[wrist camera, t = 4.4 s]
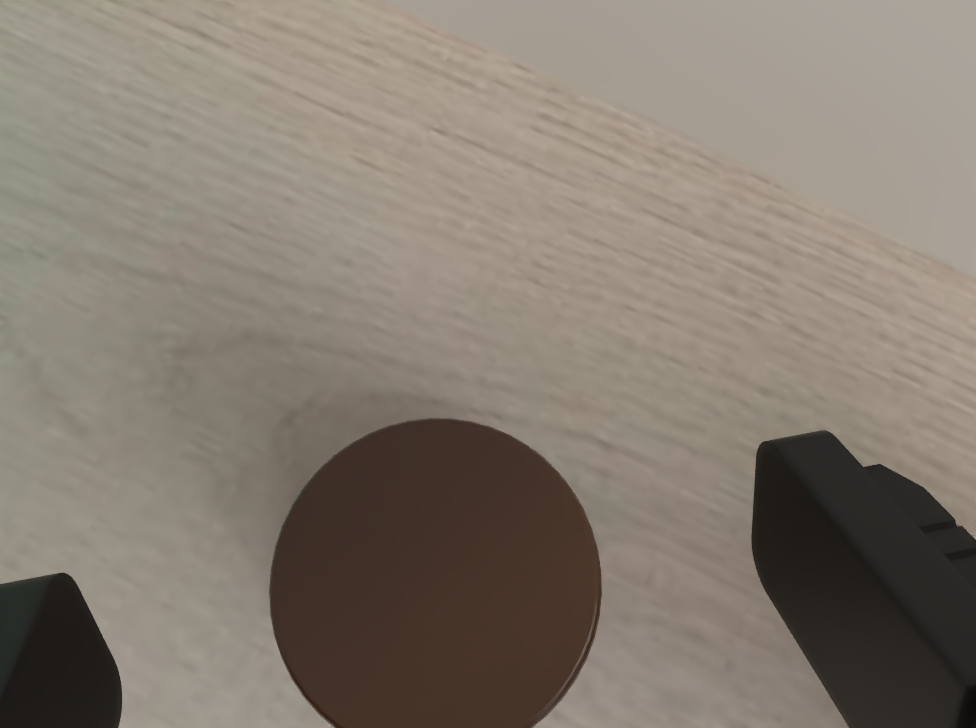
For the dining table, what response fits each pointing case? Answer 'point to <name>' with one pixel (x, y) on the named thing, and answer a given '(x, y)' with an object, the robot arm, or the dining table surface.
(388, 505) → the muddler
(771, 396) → the dining table surface
